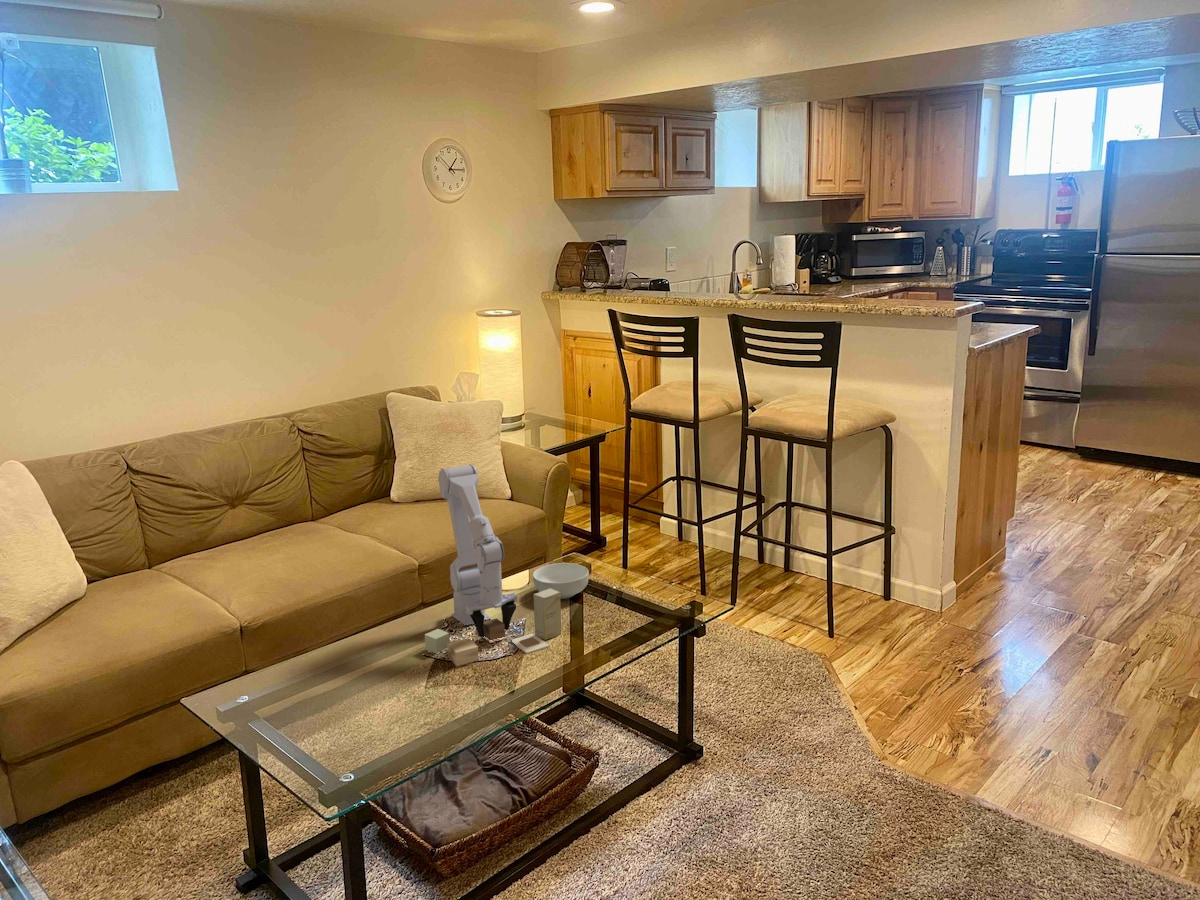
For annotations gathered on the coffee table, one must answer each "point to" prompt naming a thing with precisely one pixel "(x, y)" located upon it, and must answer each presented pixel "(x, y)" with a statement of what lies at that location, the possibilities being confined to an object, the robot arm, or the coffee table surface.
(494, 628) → the walnut cube
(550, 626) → the skincare box
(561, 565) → the cereal bowl
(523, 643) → the card
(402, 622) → the coffee table surface
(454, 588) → the robot arm
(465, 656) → the maple base
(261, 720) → the coffee table surface
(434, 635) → the sage cube
